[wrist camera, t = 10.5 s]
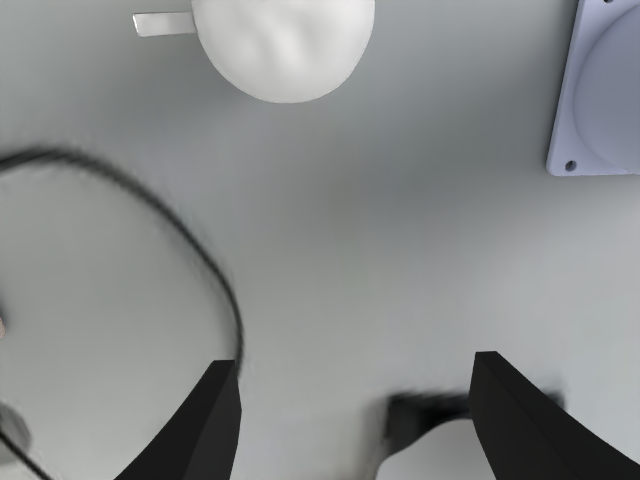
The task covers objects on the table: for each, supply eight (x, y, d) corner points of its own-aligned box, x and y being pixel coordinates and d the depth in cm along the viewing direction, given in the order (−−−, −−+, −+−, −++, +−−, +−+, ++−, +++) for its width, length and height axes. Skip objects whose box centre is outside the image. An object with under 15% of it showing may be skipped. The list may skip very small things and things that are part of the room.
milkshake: (209, -35, 17) (96, -109, 8) (343, -55, 17) (380, -152, 8) (233, 85, 19) (163, 132, 10) (353, 69, 19) (392, 102, 10)
